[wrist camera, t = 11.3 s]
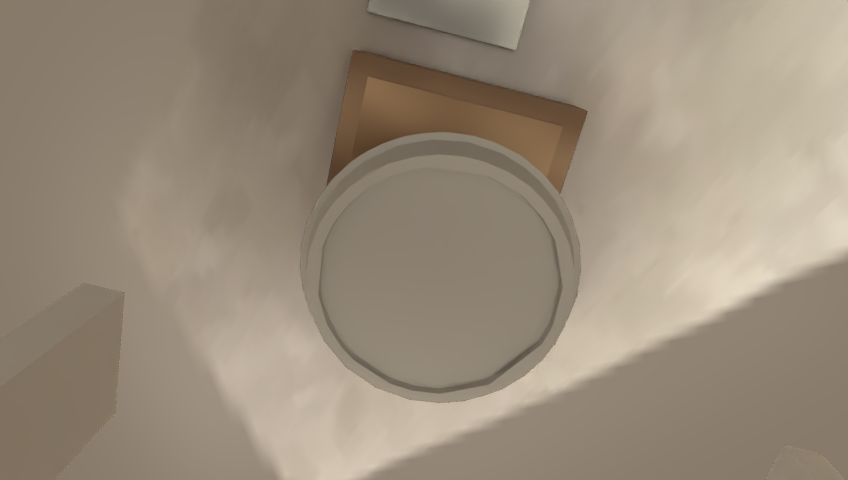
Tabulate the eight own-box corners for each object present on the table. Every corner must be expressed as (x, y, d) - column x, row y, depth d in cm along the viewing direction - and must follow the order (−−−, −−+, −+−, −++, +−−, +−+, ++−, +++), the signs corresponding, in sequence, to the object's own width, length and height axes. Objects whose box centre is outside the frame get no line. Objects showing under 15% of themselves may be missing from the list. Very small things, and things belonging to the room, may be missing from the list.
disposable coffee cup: (375, 296, 31) (337, 436, 20) (327, 127, 28) (250, 177, 17) (545, 261, 30) (609, 387, 19) (513, 83, 27) (565, 104, 16)
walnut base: (360, 50, 30) (351, 50, 27) (573, 105, 31) (588, 111, 28) (320, 253, 34) (308, 273, 31) (511, 299, 34) (518, 323, 31)
